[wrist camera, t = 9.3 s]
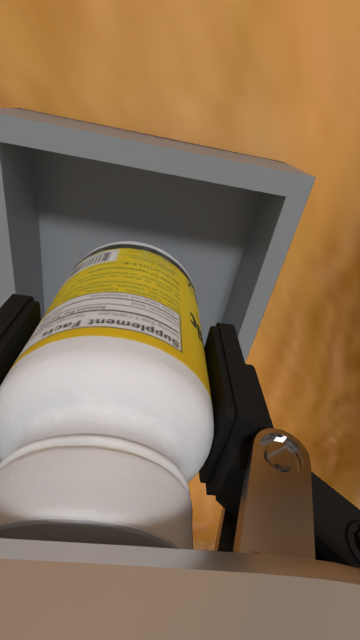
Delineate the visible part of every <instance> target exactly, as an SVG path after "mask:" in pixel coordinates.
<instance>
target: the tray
mask: <svg viewBox="0 0 360 640" xmlns="http://www.w3.org/2000/svg"><path fill="white" fill-rule="evenodd" d="M315 178H316V177H314V176H312V175H310V174H308V173H305V172H303V171H301V170H299V169H297V168H295V167H293V166H291V165H288V164H286V163H284V162H281V161H276V160H271V159H266V158H261V157H256V156H251V155H246V154H241V153H237V152H232V151H227V150H222V149H217V148H212V147H207V146H202V145H197V144H192V143H188V142H183V141H178V140H173V139H168V138H163V137H158V136H153V135H148V134H144V133H139V132H134V131H129V130H124V129H119V128H114V127H109V126H104V125H99V124H95V123H90V122H85V121H80V120H75V119H70V118H65V117H60V116H55V115H51V114H46V113H41V112H36V111H31V110H26V109H21V108H0V307H1V306H2V305H3V304H4V303H5V302H6V301H7V299H8V298H9V297H10V296H11V295H12V294H20V295H27V296H32V297H33V298H34V301H37V302H39V303H40V312H41V320H42V318H43V317H44V315H45V313H46V312H47V310H48V308H49V307H50V305H51V304H52V302H53V300H54V299H55V297H56V295H57V294H58V292H59V291H60V289H61V287H62V286H63V284H64V282H65V281H66V279H67V278H68V276H69V275H70V273H71V271H72V270H73V269H74V267H75V266H76V265H77V264H78V262H79V261H80V260H81V259H82V258H83V257H84V256H86V255H87V254H88V253H90V252H91V251H93V250H94V249H96V248H98V247H100V246H103V245H106V244H109V243H114V242H119V241H134V242H141V243H145V244H149V245H152V246H155V247H157V248H159V249H161V250H163V251H165V252H167V253H168V254H170V255H171V256H172V257H174V258H175V259H176V260H177V261H178V262H179V263H180V264H181V265H182V266H183V267H184V269H185V270H186V271H187V273H188V274H189V276H190V278H191V280H192V283H193V285H194V288H195V293H196V297H197V303H198V310H199V318H200V324H201V332H202V339H203V344H204V346H205V343H206V339H207V336H208V332H209V329H210V326H216V324H217V323H225V324H232V325H234V326H235V330H236V333H237V336H238V340H239V343H240V347H241V350H242V354H243V357H244V361H245V362H246V359H247V357H248V354H249V351H250V349H251V346H252V343H253V341H254V338H255V336H256V333H257V330H258V328H259V325H260V322H261V320H262V317H263V315H264V312H265V309H266V307H267V304H268V301H269V299H270V296H271V294H272V291H273V288H274V286H275V283H276V280H277V278H278V275H279V273H280V270H281V267H282V265H283V262H284V259H285V257H286V254H287V252H288V249H289V246H290V244H291V241H292V238H293V236H294V233H295V231H296V228H297V225H298V223H299V220H300V217H301V215H302V212H303V210H304V207H305V204H306V202H307V199H308V196H309V194H310V191H311V189H312V186H313V183H314V181H315Z"/></svg>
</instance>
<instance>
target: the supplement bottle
mask: <svg viewBox="0 0 360 640" xmlns="http://www.w3.org/2000/svg"><path fill="white" fill-rule="evenodd" d="M213 436H214V420H213V408H212V400H211V393H210V386H209V379H208V373H207V366H206V360H205V353H204V344H203V339H202V332H201V324H200V318H199V310H198V303H197V297H196V293H195V288H194V285H193V283H192V280H191V278H190V276H189V274H188V273H187V271H186V270H185V269H184V267H183V266H182V265H181V264H180V263H179V262H178V261H177V260H176V259H175V258H174V257H172V256H171V255H170V254H168V253H167V252H165V251H163V250H161V249H159V248H157V247H155V246H152V245H149V244H145V243H141V242H134V241H119V242H114V243H109V244H106V245H103V246H100V247H98V248H96V249H94V250H93V251H91V252H90V253H88V254H87V255H86V256H84V257H83V258H82V259H81V260H80V261H79V262H78V264H77V265H76V266H75V267H74V269H73V270H72V271H71V273H70V275H69V276H68V278H67V279H66V281H65V282H64V284H63V286H62V287H61V289H60V291H59V292H58V294H57V295H56V297H55V299H54V300H53V302H52V304H51V305H50V307H49V308H48V310H47V312H46V313H45V315H44V317H43V318H42V320H41V321H40V323H39V325H38V326H37V328H36V329H35V331H34V333H33V334H32V336H31V338H30V339H29V341H28V342H27V344H26V345H25V347H24V348H23V350H22V352H21V353H20V355H19V356H18V358H17V359H16V361H15V363H14V364H13V366H12V367H11V369H10V370H9V372H8V374H7V375H6V377H5V379H4V381H3V382H2V384H1V386H0V461H1V463H0V538H5V539H22V540H40V541H57V542H74V543H91V544H108V545H125V546H142V547H158V548H173V549H189V550H193V536H192V503H191V499H190V492H189V487H188V484H187V483H188V482H189V481H190V480H191V479H192V478H193V477H194V476H195V475H196V474H197V473H198V472H199V470H200V469H201V467H202V466H203V464H204V463H205V461H206V459H207V457H208V455H209V452H210V449H211V445H212V441H213Z"/></svg>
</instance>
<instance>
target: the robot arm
mask: <svg viewBox="0 0 360 640" xmlns="http://www.w3.org/2000/svg"><path fill="white" fill-rule="evenodd" d="M40 321H41V312H40V303H39V302H37V301H34V298H33V297H32V296H27V295H20V294H12V295H11V296H10V297H9V298H8V299H7V301H6V302H5V303H4V304H3V305H2V306H1V307H0V386H1V384H2V382H3V381H4V379H5V377H6V375H7V374H8V372H9V370H10V369H11V367H12V366H13V364H14V363H15V361H16V359H17V358H18V356H19V355H20V353H21V352H22V350H23V348H24V347H25V345H26V344H27V342H28V341H29V339H30V338H31V336H32V334H33V333H34V331H35V329H36V328H37V326H38V325H39V323H40ZM204 353H205V360H206V366H207V373H208V379H209V386H210V393H211V400H212V408H213V420H214V436H213V441H212V445H211V449H210V452H209V455H208V457H207V459H206V461H205V463H204V464H203V466H202V467H201V469H200V470H199V477H200V482H201V483H206V492H207V495H215V496H216V500H217V501H218V502H219V503H220V504H221V505H222V506H223V507H222V512H221V517H220V522H219V527H218V533H217V538H216V543H215V548H214V551H205V550H189V549H173V548H158V547H142V546H125V545H108V544H91V543H74V542H57V541H40V540H22V539H5V538H0V640H360V510H359V509H358V508H357V507H355V506H354V505H353V504H352V503H350V502H349V501H348V500H347V499H345V498H344V497H343V496H341V495H340V494H339V493H338V492H336V491H335V490H334V489H333V488H331V487H330V486H329V485H328V484H326V483H325V482H324V481H323V480H321V479H320V478H319V477H317V476H316V475H315V474H314V473H312V472H311V462H310V458H309V454H308V452H307V450H306V449H305V447H304V446H303V445H302V443H301V442H300V441H299V440H298V439H297V438H295V437H294V436H293V435H291V434H290V433H288V432H285V431H283V430H280V429H276V428H273V424H272V421H271V418H270V415H269V412H268V409H267V406H266V402H265V399H264V396H263V393H262V390H261V387H260V384H259V380H258V377H257V374H256V371H255V368H254V366H252V365H248V364H245V361H244V357H243V354H242V350H241V347H240V343H239V340H238V336H237V333H236V330H235V326H234V325H232V324H225V323H217V324H216V326H210V329H209V332H208V336H207V339H206V343H205V346H204Z"/></svg>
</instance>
